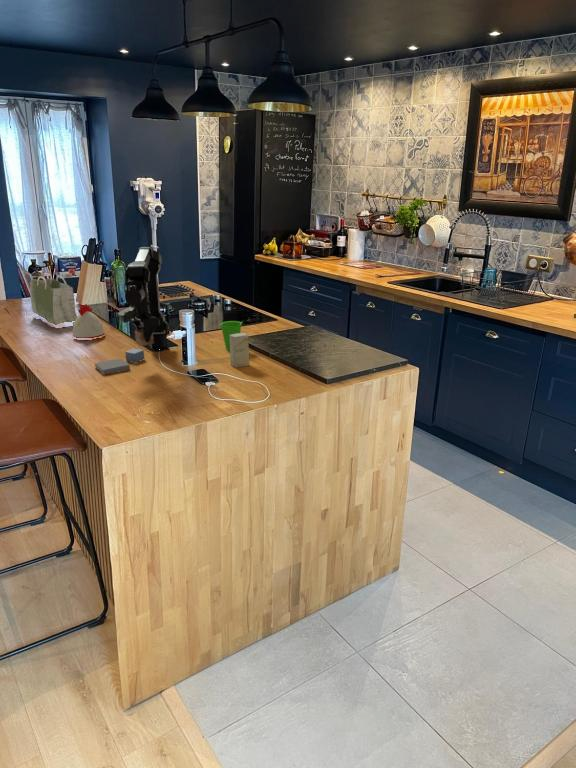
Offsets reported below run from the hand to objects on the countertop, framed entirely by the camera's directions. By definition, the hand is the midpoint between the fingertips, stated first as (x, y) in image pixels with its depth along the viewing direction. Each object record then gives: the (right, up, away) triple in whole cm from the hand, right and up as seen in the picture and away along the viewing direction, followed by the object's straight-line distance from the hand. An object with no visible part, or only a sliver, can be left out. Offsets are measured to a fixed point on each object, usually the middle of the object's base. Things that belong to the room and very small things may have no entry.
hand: (144, 340), depth 218 cm
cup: (+31, -2, +25) cm, 40 cm away
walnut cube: (0, -1, 0) cm, 1 cm away
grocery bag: (-63, +15, +77) cm, 100 cm away
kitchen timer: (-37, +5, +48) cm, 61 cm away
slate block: (-7, -7, +13) cm, 17 cm away
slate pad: (-13, -11, +4) cm, 17 cm away
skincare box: (+35, -9, +5) cm, 37 cm away
